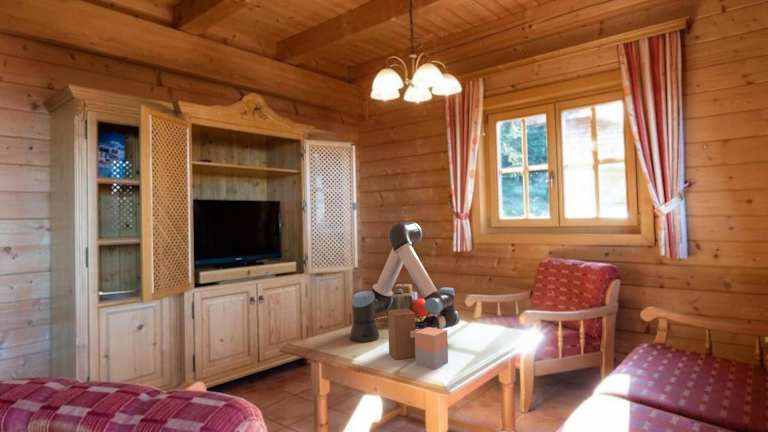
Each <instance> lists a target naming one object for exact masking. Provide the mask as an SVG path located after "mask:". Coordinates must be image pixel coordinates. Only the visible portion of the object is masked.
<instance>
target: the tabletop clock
mask: <svg viewBox="0 0 768 432" xmlns="http://www.w3.org/2000/svg"><path fill="white" fill-rule="evenodd" d="M396 283H397V284H398V283H401V284H403V285H404V284H405V283H404V282H403V281H402V280H396V281H395V283H394V286H393V288H394V287H395V285H396ZM403 285H402V286H401V287H403ZM401 287H400V286H398V287H395V288H398V289H396V290H395V292H394V291H392V292H393V295H392V304H391V306H390V307H389V308H388V309H387V310H385V311H384V312H385V316H386V317H387V318H388V311H389V310H398V309H409V310H411V311H412V309H411V306H412V303H413V302H414V301H413V300H412V296H413V295H412V296H411V294H408V293H403V290H402V289H400V288H401Z"/></svg>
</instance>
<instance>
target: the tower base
mask: <svg viewBox="0 0 768 432" xmlns="http://www.w3.org/2000/svg"><path fill="white" fill-rule="evenodd" d="M414 358H415V366H420V367H422V368H423V367H425V368H428V369H433V370H437V369H439V368H441V367H443V366H444V365H446V364H449V347H446V348H444V349H442V350H440V351H438V352H435V353H434V352H429V351H425V350H420V349H415V357H414Z"/></svg>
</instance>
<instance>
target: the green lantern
mask: <svg viewBox="0 0 768 432" xmlns="http://www.w3.org/2000/svg"><path fill="white" fill-rule="evenodd" d="M403 284H404V285H403ZM402 285H403V287H401V286H402ZM398 286H400V287H401V288H400V289H402V290H403V293H408V294H411V296H412V300H413V299H414V298H413V284H412V283H397V284H395V287H398ZM395 287H394V286H393V292H395V290H396V289H398V288H395Z"/></svg>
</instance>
